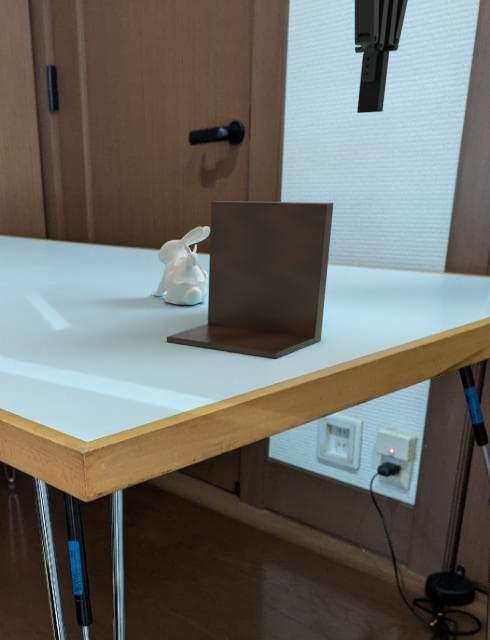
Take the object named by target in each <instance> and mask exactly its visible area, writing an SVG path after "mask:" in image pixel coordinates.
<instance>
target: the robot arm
mask: <svg viewBox="0 0 490 640" xmlns="http://www.w3.org/2000/svg"><path fill="white" fill-rule="evenodd" d="M408 1H409V0H354V45H355V47H354V52H355V54H361V53H362V60H361V70H360V79H359V80H360V81H359V90H358V100H357V111H356V113H357V114H363V113H364V114H368V113H382V112H383V111H384V103H385V96H386V95H385V93H386V84H387V77H388V67H389V60H390V59H389V58H390V52H396V51H398V49H399V47H400V45H399V44H400V40H401V37H402V30H403V26H404V20H405V16H406V12H407V7H408Z"/></svg>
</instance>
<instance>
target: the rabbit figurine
mask: <svg viewBox="0 0 490 640" xmlns="http://www.w3.org/2000/svg"><path fill="white" fill-rule="evenodd" d="M210 227H211V226H208V225H207V226H206V225H205V226H197V227H195V228H193V229H191V230H189V231H188V232H187V233H186V234H185V235H184V236H183V237H182V238H181V239H172V240H168V241H166V242H165V243H163V245H162V246H161V247H160V249H159V250H158V253H157V257H158V261H159V262H160V263H162V264H164V269H163V274H162V277H161V279H160V281H159V284H158V285H157V289H156V291H155V292H151V293H150V295H151V296H155V297H162V296H163V299H164V302H166V303H169V304H174V305H188V306H193V305H197V304H198V303H199V304H200V303H203V302H205V300H206V297H207V294H208V292H209V273H208V272H207V271H206V270H204V268H203V266H202V264H201V263H199V262H198V259H199V255H198V254H197V248H198V244H197V243H200V242H202V241H203V240H206V239H207V238H208V237H209V236H210ZM191 245H194V248H193V250H191V248H190V247H189V246H191Z"/></svg>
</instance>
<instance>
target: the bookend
mask: <svg viewBox="0 0 490 640" xmlns="http://www.w3.org/2000/svg"><path fill="white" fill-rule="evenodd" d="M333 212H334V202H317V201H316V202H314V201H313V202H312V201H260V200H257V201H256V200H214V201H211V202H210V226H209V227H210V233H209V261H208V262H209V265H208V280H209V284H208V299H207V301H208V303H207V323H206V324H202V325H200V326H196V327H193V328H190V329H186V330H183V331H180V332H177V333H174V334H170V335H168V336H166V343H167V342H168V343H174V344H179V345H186V346H192V347H193V346H194V347H198V348H206V349H210V350H211V349H212V350H218V351H225V352H231V353H238V354H245V355H251V356H255V357H263V358H270V359H279V358H281V357H283V356H286V355H288V354H292V353H293V352H295V351H298V350H301V349H304V348H306V347H308V346H311V345H313V344H316V343H319V342H321V341H322V332H323V320H324V311H325V310H324V309H325V300H326V299H325V298H326V288H327V278H328V268H329V258H330V257H329V256H330V248H331V247H330V246H331V235H332V234H331V233H332V223H333V214H334V213H333Z"/></svg>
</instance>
